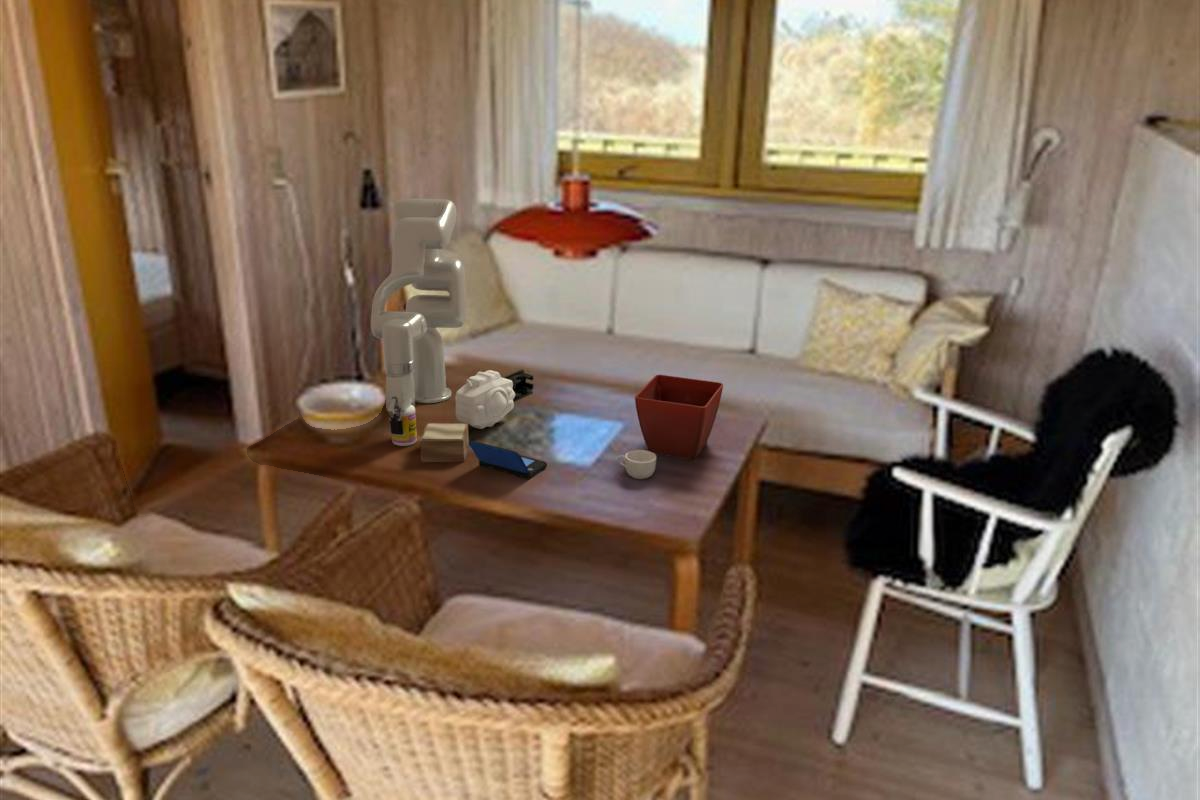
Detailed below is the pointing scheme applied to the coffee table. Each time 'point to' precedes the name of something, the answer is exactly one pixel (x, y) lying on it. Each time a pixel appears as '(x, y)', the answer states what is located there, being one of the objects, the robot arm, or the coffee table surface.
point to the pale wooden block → (444, 443)
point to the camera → (484, 399)
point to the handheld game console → (506, 460)
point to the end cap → (520, 384)
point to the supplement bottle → (407, 428)
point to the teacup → (639, 463)
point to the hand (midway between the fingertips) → (403, 426)
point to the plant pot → (677, 414)
